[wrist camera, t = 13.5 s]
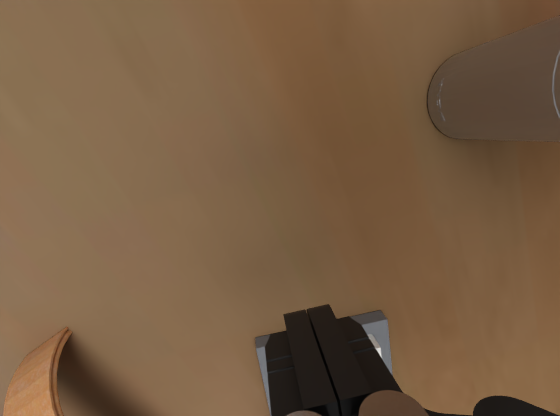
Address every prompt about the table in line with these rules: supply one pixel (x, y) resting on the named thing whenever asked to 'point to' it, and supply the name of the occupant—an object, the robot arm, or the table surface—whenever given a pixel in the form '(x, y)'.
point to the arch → (37, 381)
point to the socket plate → (371, 322)
